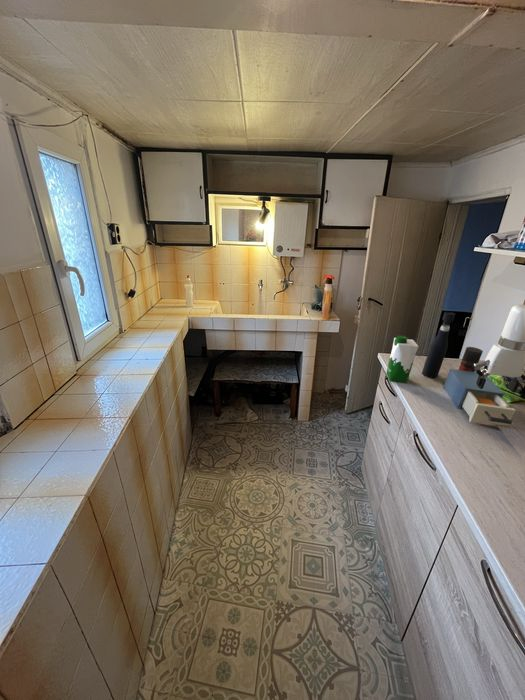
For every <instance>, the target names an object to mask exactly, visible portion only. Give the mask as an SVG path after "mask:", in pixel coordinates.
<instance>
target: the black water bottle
mask: <svg viewBox="0 0 525 700" xmlns="http://www.w3.org/2000/svg"><path fill="white" fill-rule="evenodd" d="M455 316H456V313H455V312H452V311H444V313H443V317H442V319H441V320H442V321H443V322H442V325H441V326H440V328H439V329H438V331H437V335H436V336H435V337H434V339H433V340H432V342H431V343H430V347H429V350H428V352H427V355H426V358H425V362H424V365H423V368H422V371H421V374H422V376H424V377H425V378H429V379H437V378H438V376H439V374H440V371H441V368H442V365H443V362H444V359H445V357H446V354H447V350H448V346H449V340H448V339H449V338H448V336H449V333H450V330H451V329H450V328H451V327H450V326H451V323H452V322H454V319H455Z"/></svg>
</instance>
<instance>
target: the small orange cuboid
mask: <svg viewBox="0 0 525 700" xmlns="http://www.w3.org/2000/svg"><path fill="white" fill-rule="evenodd" d="M477 400H478V401H479V403H481V404H487V405H494V406H496V405H495V404H494V403H493V402H492V401H491V400H489V399H482V398H477Z"/></svg>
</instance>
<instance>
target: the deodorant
mask: <svg viewBox="0 0 525 700" xmlns="http://www.w3.org/2000/svg"><path fill="white" fill-rule="evenodd" d="M483 352H484V350H482V349H480V348H479V347H474V346H467V347H466V348H465V350H464V353H463V356H462V358H461V361H460V363H459V366H458V369H457V370H463V371H471V372H476V371H475V369H474V364H476V363H479V362H480V359H481V357H482V355H483Z"/></svg>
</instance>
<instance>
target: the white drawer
mask: <svg viewBox="0 0 525 700" xmlns="http://www.w3.org/2000/svg"><path fill="white" fill-rule="evenodd" d="M477 398H482V399H489V400H491V401H492V402H493V403H494V404H495V405H496V406H494V405H487V404H481V403H479V401H478V400H477ZM461 405H462V407H463V408H464V409H463V411H465V412H466V414H467V415H468V417H469V419H468V421H469V423H474V424H475V423H476V424H482V425H488V426H493V427H497V426H506V427H509V425H512V424H513V421H512V419H513V417H514V415H515V413H516V411H517V410H516V409H515V408H513V407H510V406H509V404H508V403H507V402H506V401H505V400H504V399H503V397H502V398H501V397H500V396H499V395H496V394H489V393H482V392H475V391H468V390H467V392H466V394H465V397H464V399H463V402H462V404H461Z"/></svg>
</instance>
